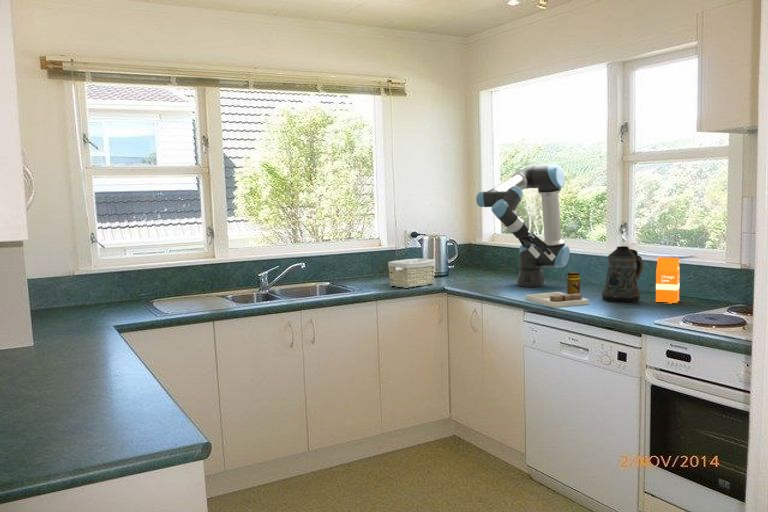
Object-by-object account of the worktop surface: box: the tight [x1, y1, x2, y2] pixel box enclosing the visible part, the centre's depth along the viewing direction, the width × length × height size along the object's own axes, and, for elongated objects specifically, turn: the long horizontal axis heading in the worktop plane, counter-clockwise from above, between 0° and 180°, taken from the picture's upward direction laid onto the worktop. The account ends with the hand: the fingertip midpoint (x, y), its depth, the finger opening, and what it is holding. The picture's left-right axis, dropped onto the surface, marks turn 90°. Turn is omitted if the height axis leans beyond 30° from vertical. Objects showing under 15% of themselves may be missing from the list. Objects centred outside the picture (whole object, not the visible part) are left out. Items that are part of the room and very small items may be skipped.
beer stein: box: [601, 245, 644, 304], centre depth 288 cm, size 16×19×25 cm
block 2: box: [559, 293, 572, 301], centre depth 282 cm, size 4×4×4 cm
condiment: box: [566, 271, 581, 294], centre depth 303 cm, size 7×8×12 cm
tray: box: [525, 291, 590, 309], centre depth 289 cm, size 24×18×3 cm
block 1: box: [550, 295, 563, 302], centre depth 281 cm, size 4×4×4 cm
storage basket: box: [387, 257, 436, 287], centre depth 355 cm, size 24×16×15 cm
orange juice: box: [655, 257, 681, 304], centre depth 282 cm, size 8×9×20 cm
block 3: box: [569, 293, 583, 301], centre depth 284 cm, size 4×4×4 cm
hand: (545, 257), depth 299 cm, fingers open, 13 cm apart
